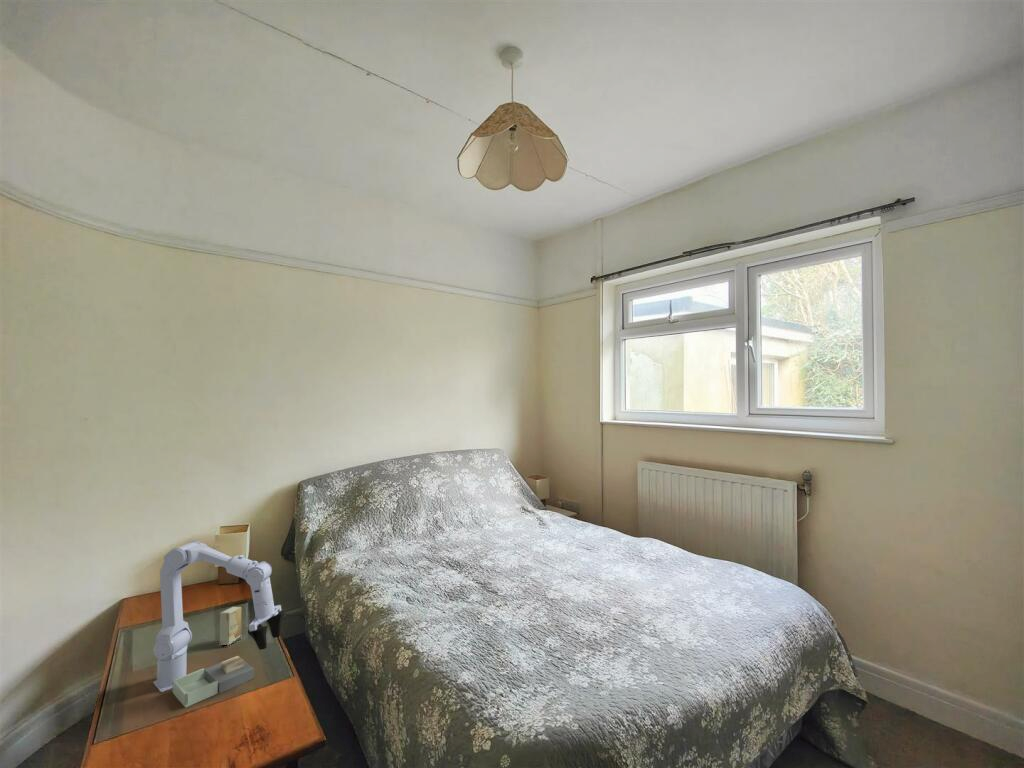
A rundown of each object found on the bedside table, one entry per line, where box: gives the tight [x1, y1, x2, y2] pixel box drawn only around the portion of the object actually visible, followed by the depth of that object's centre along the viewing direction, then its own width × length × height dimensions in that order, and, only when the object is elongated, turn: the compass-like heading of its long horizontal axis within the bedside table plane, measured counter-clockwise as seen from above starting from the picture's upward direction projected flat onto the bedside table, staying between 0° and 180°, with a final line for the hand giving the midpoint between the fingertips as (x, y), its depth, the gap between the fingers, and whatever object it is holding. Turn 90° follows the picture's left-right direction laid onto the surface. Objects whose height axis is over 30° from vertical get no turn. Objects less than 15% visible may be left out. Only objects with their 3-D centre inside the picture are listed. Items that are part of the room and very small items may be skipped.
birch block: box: [220, 655, 245, 673], centre depth 148 cm, size 5×5×2 cm
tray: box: [171, 667, 219, 708], centre depth 140 cm, size 13×8×4 cm, turn 51°
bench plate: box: [204, 660, 255, 694], centre depth 148 cm, size 14×10×3 cm
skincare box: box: [219, 606, 242, 645], centre depth 173 cm, size 6×4×12 cm
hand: (269, 642), depth 149 cm, fingers open, 7 cm apart
